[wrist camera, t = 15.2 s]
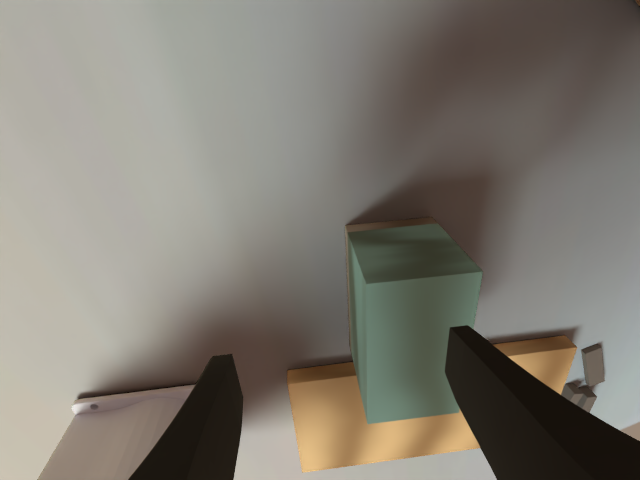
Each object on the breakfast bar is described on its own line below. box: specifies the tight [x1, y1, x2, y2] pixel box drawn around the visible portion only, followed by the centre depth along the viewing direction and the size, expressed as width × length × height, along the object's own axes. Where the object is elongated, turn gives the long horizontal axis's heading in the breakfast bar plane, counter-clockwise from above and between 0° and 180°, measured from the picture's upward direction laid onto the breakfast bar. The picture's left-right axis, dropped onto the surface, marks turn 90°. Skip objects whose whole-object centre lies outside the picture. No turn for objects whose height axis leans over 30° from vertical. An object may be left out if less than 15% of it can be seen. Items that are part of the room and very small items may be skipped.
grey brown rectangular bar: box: [561, 384, 583, 405], centre depth 29 cm, size 1×4×1 cm
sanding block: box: [345, 217, 483, 424], centre depth 20 cm, size 5×9×6 cm, turn 4°
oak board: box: [287, 335, 577, 473], centre depth 27 cm, size 20×10×1 cm, turn 94°
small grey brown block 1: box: [581, 344, 605, 387], centre depth 27 cm, size 1×4×1 cm, turn 25°
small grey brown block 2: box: [577, 387, 597, 412], centre depth 29 cm, size 1×4×1 cm
